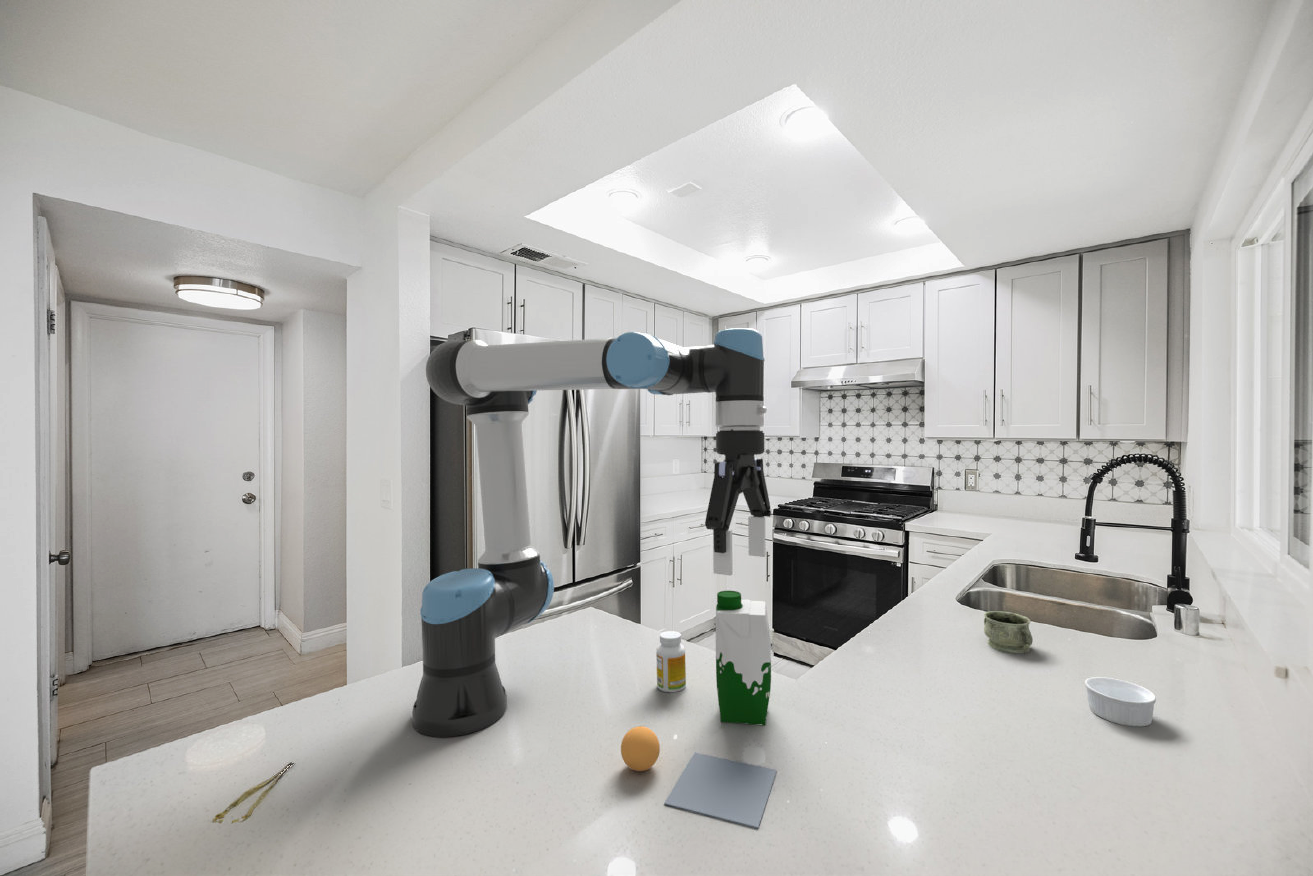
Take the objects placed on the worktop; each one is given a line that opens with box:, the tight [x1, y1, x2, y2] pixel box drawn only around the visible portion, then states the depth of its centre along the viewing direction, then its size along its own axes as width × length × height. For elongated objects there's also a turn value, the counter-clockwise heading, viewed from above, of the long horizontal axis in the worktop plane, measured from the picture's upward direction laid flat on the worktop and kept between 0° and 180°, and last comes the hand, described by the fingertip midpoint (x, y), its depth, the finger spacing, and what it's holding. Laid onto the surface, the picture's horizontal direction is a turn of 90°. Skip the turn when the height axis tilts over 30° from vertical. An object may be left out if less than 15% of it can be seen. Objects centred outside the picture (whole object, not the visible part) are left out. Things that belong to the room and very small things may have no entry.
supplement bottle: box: [655, 630, 687, 693], centre depth 103 cm, size 5×5×10 cm
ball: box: [620, 726, 661, 772], centre depth 78 cm, size 6×6×6 cm
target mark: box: [664, 751, 778, 830], centre depth 73 cm, size 12×12×1 cm
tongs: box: [212, 761, 295, 824], centre depth 75 cm, size 4×13×2 cm, turn 4°
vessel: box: [983, 610, 1033, 654], centre depth 119 cm, size 12×9×6 cm
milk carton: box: [715, 590, 772, 726], centre depth 92 cm, size 9×9×20 cm
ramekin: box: [1084, 676, 1157, 727], centre depth 90 cm, size 9×9×4 cm
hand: (741, 564), depth 87 cm, fingers open, 13 cm apart
